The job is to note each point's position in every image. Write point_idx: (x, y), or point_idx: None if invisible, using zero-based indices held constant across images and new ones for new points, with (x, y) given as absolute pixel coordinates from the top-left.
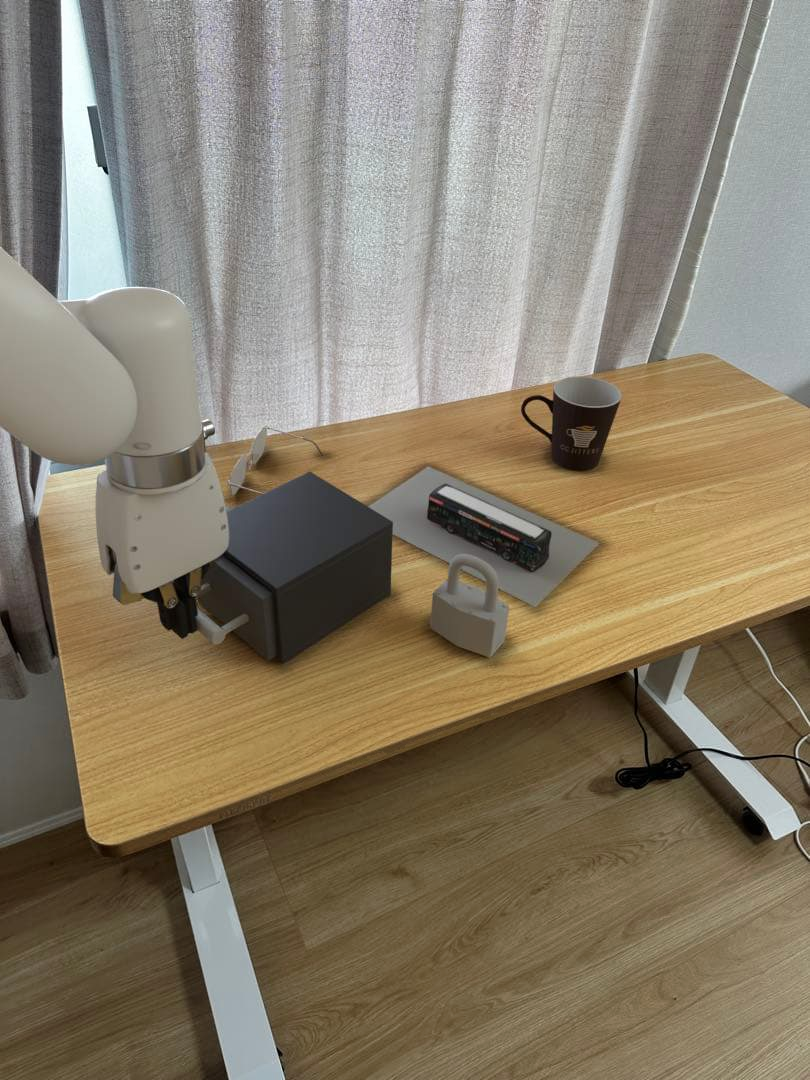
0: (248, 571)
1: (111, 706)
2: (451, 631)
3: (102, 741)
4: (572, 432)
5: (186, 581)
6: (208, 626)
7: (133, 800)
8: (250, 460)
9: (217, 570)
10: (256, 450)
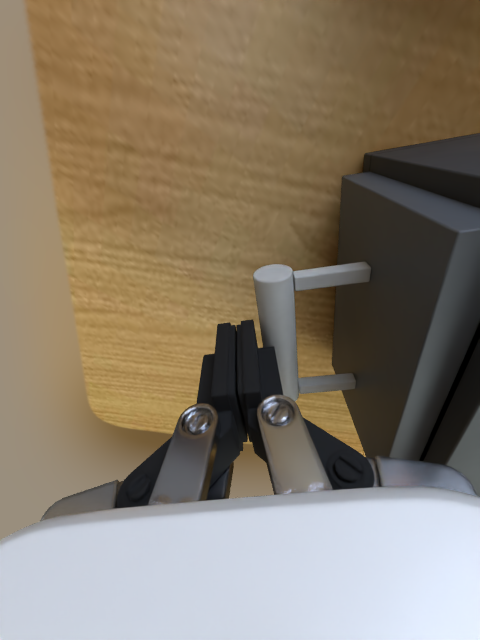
0: (433, 455)
1: (118, 305)
2: None
3: (102, 345)
4: None
5: (272, 485)
6: None
7: (125, 408)
8: None
9: (397, 366)
10: None
